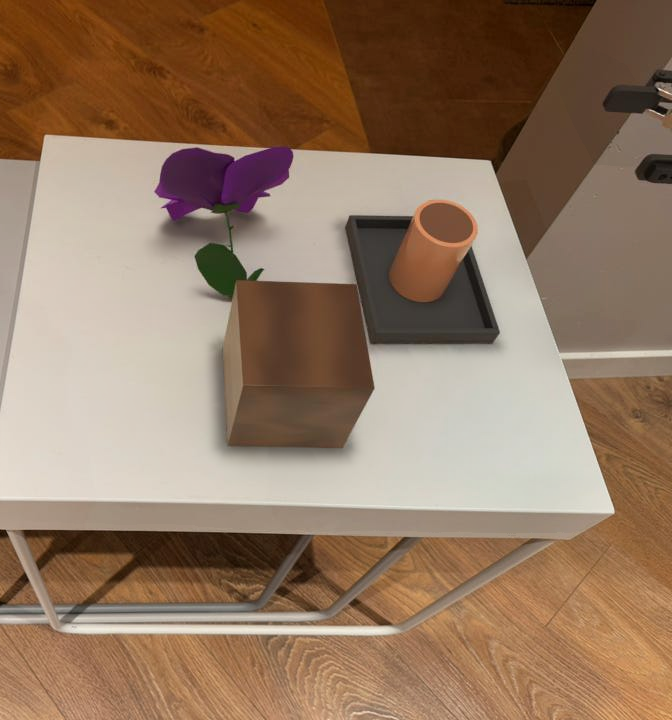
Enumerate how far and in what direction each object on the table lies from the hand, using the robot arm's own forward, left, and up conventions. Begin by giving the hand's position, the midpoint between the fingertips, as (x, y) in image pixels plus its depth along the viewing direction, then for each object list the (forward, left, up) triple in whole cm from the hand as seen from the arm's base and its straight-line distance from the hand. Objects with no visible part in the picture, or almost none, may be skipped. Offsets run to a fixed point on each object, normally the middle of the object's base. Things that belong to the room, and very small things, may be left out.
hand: (624, 131), depth 64 cm
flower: (+26, +18, -24) cm, 39 cm away
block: (+10, +27, -24) cm, 37 cm away
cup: (+9, +5, -23) cm, 25 cm away
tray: (+9, +5, -24) cm, 26 cm away
